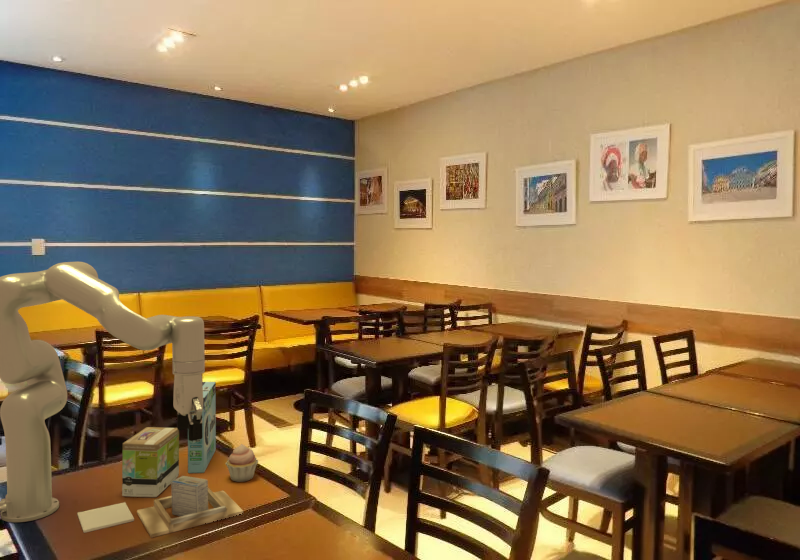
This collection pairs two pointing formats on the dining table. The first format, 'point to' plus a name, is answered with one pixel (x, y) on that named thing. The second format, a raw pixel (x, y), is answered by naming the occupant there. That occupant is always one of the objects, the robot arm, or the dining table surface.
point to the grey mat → (105, 517)
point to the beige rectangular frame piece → (162, 524)
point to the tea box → (150, 462)
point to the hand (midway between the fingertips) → (189, 434)
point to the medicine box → (189, 495)
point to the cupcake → (242, 464)
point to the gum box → (204, 433)
